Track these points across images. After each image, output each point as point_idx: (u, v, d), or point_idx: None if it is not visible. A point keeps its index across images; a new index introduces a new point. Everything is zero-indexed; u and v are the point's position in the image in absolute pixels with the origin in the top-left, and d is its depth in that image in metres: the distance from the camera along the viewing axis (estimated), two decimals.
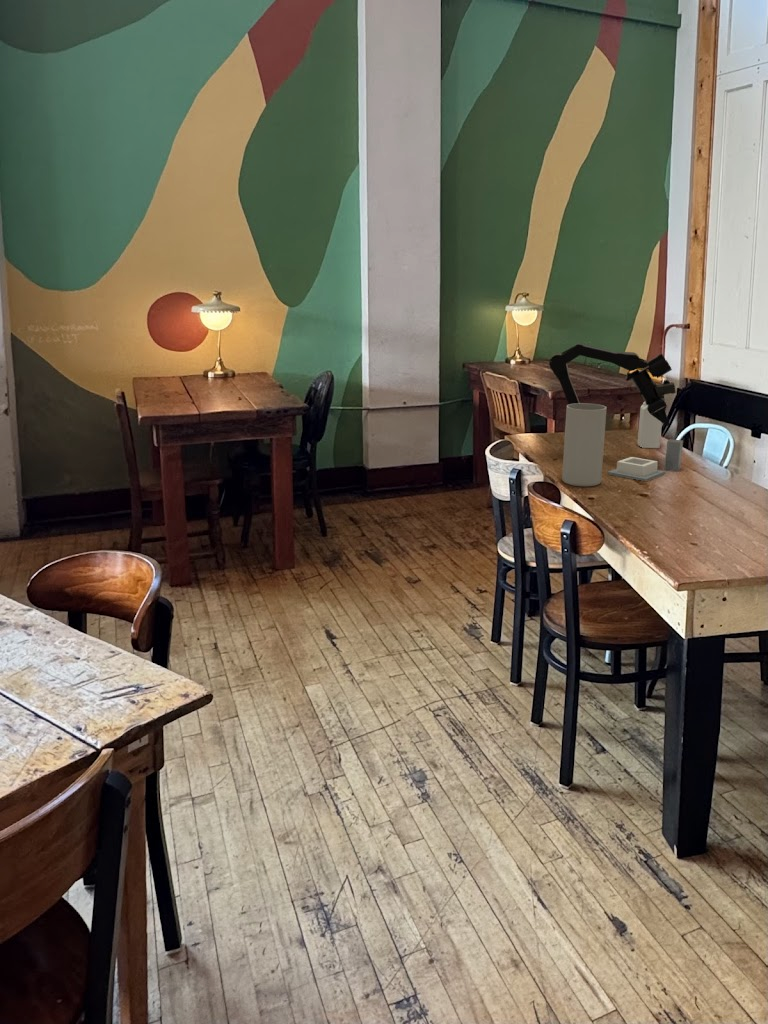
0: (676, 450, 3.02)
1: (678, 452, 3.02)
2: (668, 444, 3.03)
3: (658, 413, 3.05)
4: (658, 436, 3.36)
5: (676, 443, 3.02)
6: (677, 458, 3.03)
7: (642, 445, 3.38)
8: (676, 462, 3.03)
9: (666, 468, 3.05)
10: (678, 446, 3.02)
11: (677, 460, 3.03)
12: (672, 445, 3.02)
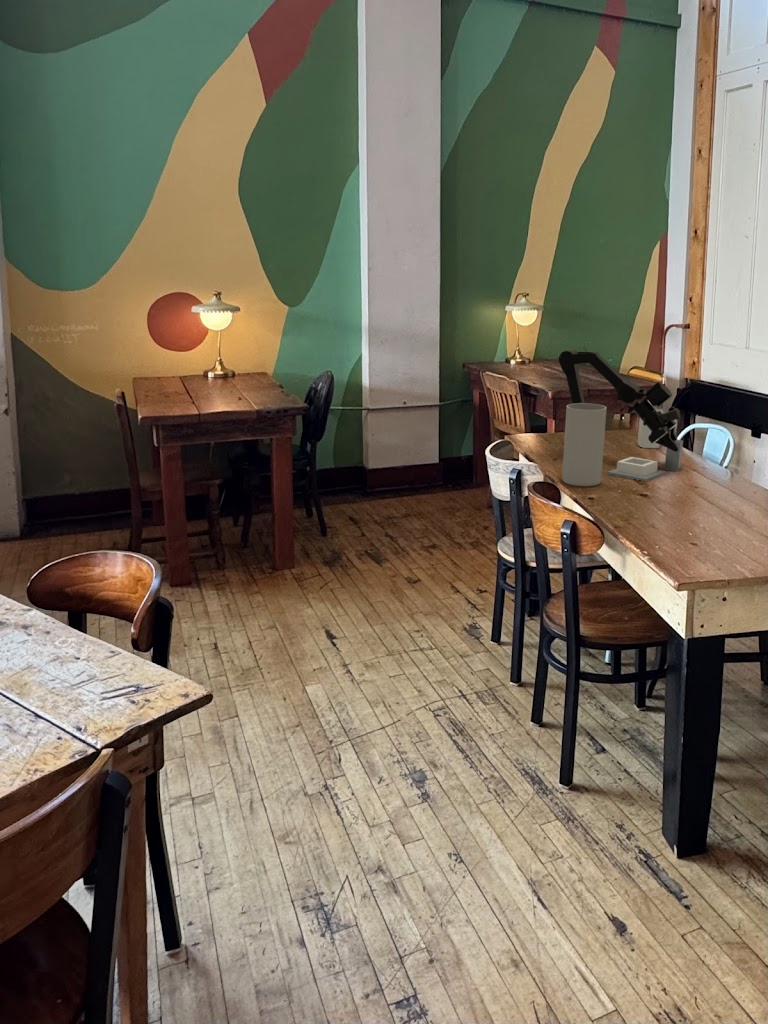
0: None
1: (678, 452, 3.02)
2: None
3: (663, 440, 3.02)
4: None
5: (676, 443, 3.02)
6: (677, 458, 3.03)
7: (642, 445, 3.38)
8: (676, 462, 3.03)
9: (666, 468, 3.05)
10: (678, 446, 3.02)
11: (677, 460, 3.03)
12: None
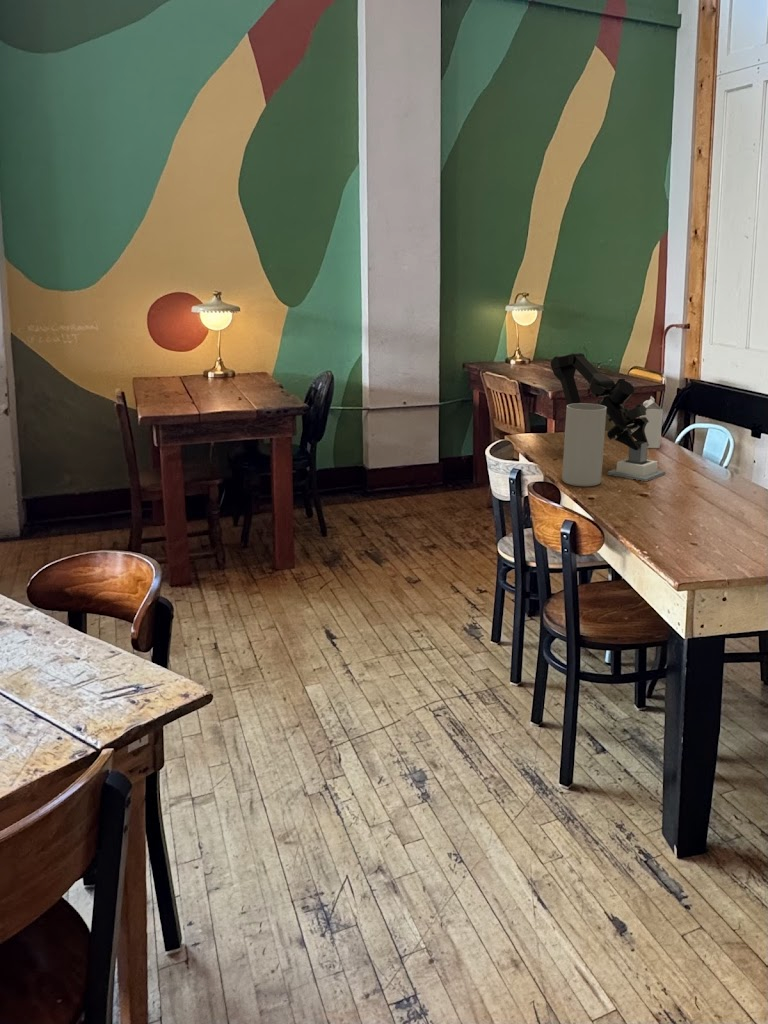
0: (638, 451, 2.95)
1: (639, 453, 2.95)
2: None
3: (624, 438, 2.95)
4: (658, 436, 3.36)
5: (637, 444, 2.95)
6: (639, 460, 2.95)
7: None
8: None
9: None
10: (639, 447, 2.94)
11: (639, 462, 2.95)
12: None
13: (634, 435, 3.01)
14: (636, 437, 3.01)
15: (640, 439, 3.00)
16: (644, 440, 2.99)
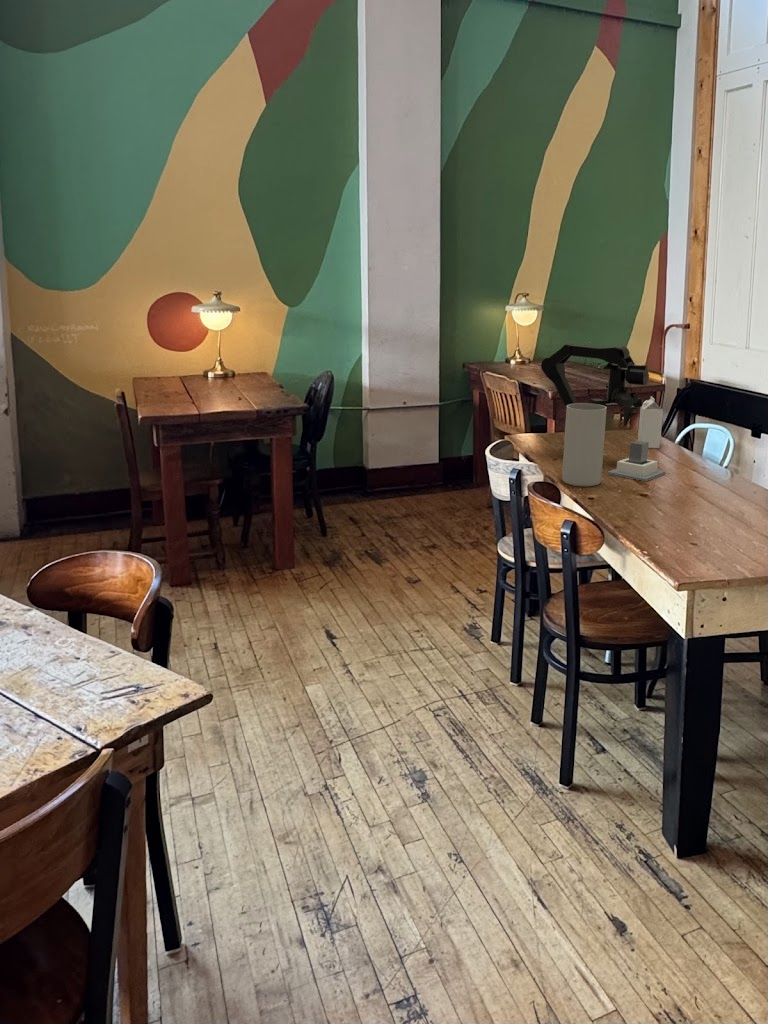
0: (638, 452, 2.95)
1: (640, 454, 2.95)
2: (631, 445, 2.96)
3: None
4: (658, 436, 3.36)
5: (638, 445, 2.94)
6: (639, 460, 2.95)
7: None
8: None
9: None
10: (640, 448, 2.94)
11: (639, 462, 2.95)
12: (635, 446, 2.95)
13: (624, 409, 3.13)
14: (624, 412, 3.13)
15: (624, 416, 3.12)
16: (625, 420, 3.12)
